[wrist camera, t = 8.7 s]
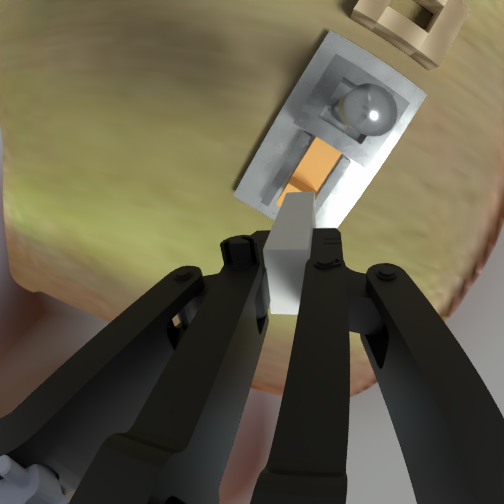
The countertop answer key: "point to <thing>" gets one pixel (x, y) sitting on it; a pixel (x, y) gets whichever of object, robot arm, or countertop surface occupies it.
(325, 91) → the socket station
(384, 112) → the peg
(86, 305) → the countertop surface
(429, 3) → the light wood square frame
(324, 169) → the orange block
